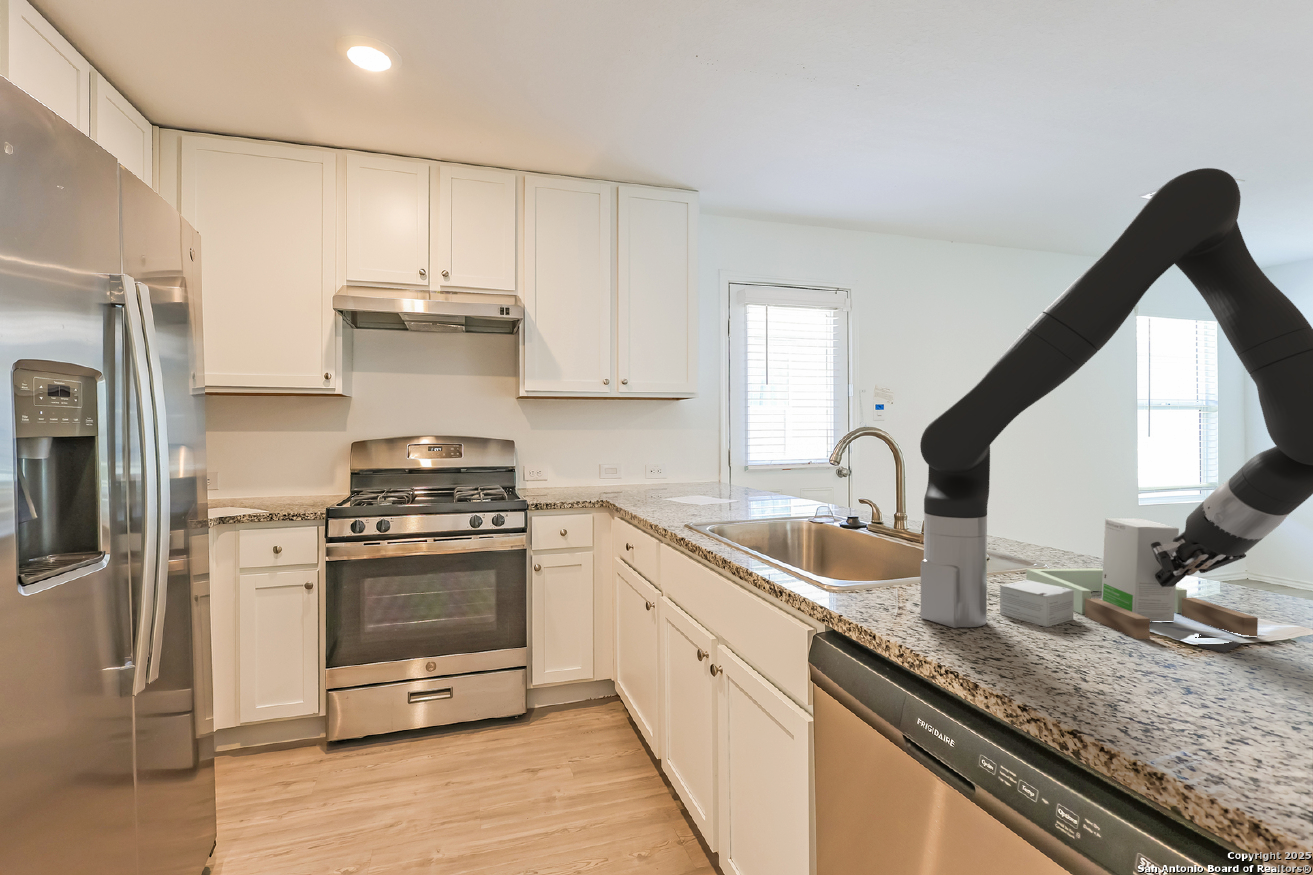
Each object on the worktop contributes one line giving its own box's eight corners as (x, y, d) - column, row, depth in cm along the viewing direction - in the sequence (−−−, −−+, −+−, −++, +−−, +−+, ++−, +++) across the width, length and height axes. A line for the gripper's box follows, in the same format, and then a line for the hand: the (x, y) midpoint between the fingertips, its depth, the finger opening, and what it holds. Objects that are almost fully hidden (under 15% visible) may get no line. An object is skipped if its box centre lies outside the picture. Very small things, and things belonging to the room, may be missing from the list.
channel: (1257, 637, 89) (1257, 617, 89) (1136, 639, 89) (1136, 618, 89) (1193, 615, 100) (1193, 597, 100) (1085, 616, 99) (1085, 598, 99)
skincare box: (1100, 607, 104) (1101, 517, 104) (1140, 607, 104) (1141, 517, 104) (1135, 623, 96) (1136, 525, 96) (1179, 623, 96) (1180, 525, 95)
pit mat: (1224, 653, 83) (1224, 650, 83) (1179, 641, 88) (1179, 639, 88) (1240, 644, 86) (1240, 642, 86) (1196, 634, 91) (1196, 632, 91)
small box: (1026, 607, 105) (1026, 578, 105) (1074, 620, 98) (1075, 589, 98) (998, 614, 101) (998, 584, 101) (1047, 628, 94) (1047, 595, 94)
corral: (1186, 613, 101) (1186, 589, 101) (1082, 614, 101) (1082, 590, 100) (1117, 589, 116) (1117, 568, 116) (1026, 589, 116) (1026, 569, 115)
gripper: (1266, 493, 85) (1190, 560, 98) (1172, 494, 85) (1108, 561, 98) (1306, 537, 80) (1220, 602, 93) (1206, 538, 80) (1133, 603, 93)
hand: (1162, 581), depth 95 cm, fingers closed
